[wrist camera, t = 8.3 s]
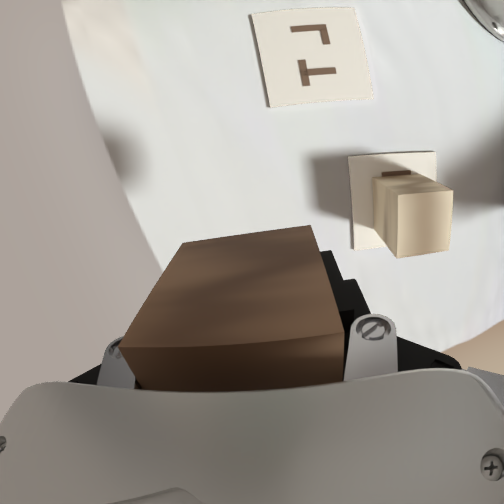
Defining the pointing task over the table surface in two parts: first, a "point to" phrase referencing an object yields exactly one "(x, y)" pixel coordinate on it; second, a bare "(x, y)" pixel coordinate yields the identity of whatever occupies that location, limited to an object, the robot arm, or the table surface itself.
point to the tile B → (362, 187)
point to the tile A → (312, 55)
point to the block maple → (412, 214)
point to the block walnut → (239, 317)
